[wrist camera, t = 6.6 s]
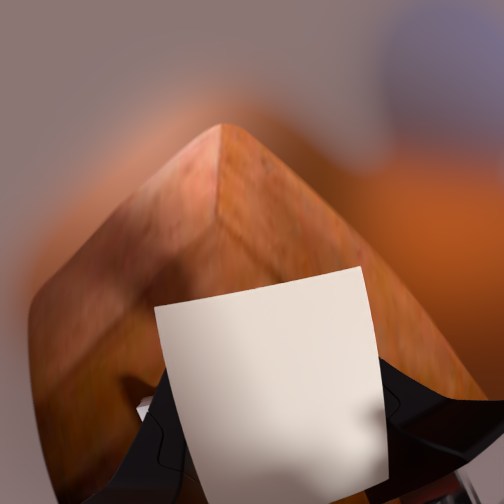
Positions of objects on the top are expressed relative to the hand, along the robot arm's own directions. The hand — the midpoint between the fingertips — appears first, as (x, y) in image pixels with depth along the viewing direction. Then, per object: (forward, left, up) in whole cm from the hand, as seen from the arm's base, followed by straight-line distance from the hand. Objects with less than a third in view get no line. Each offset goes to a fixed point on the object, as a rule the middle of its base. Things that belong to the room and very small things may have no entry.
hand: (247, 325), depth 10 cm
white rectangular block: (-1, -1, -8) cm, 8 cm away
